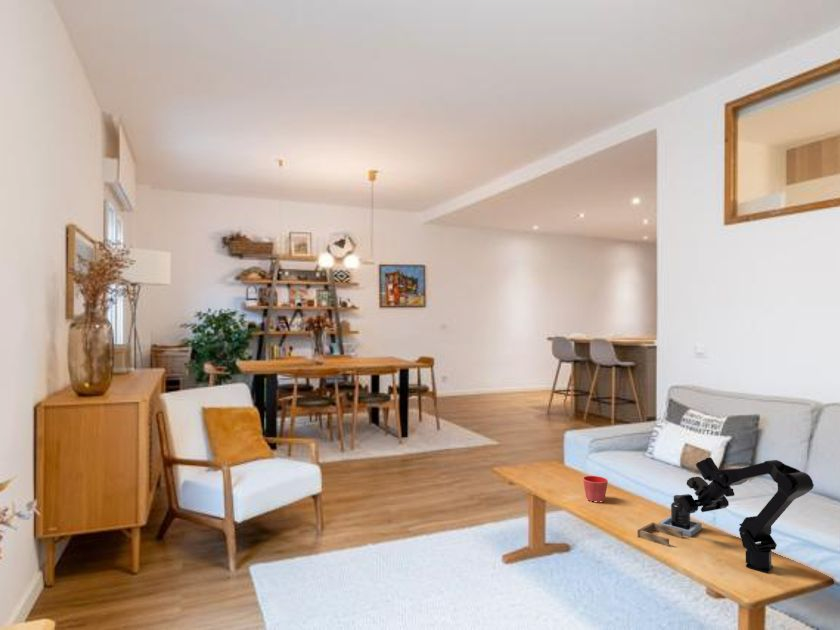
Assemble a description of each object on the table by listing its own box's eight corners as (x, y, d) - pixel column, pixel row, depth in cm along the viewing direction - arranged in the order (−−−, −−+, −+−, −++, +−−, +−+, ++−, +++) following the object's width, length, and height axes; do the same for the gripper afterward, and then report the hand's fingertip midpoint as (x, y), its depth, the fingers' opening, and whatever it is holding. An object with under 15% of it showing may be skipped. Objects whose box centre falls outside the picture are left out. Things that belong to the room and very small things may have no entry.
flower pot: (602, 496, 251) (602, 475, 251) (611, 504, 240) (611, 482, 240) (580, 496, 251) (579, 475, 251) (588, 504, 240) (587, 482, 240)
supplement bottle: (668, 523, 215) (668, 493, 215) (685, 524, 215) (685, 493, 215) (675, 530, 208) (675, 499, 208) (693, 530, 208) (693, 499, 208)
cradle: (682, 537, 203) (682, 530, 203) (667, 546, 195) (667, 539, 195) (652, 528, 211) (652, 522, 211) (637, 536, 204) (637, 530, 204)
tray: (701, 528, 211) (701, 523, 211) (690, 537, 203) (690, 531, 203) (670, 520, 220) (670, 515, 220) (658, 528, 211) (658, 523, 211)
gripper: (721, 469, 204) (699, 490, 214) (681, 474, 198) (660, 495, 208) (740, 496, 196) (716, 517, 206) (699, 501, 190) (676, 522, 201)
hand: (692, 512), depth 206 cm, fingers open, 9 cm apart
